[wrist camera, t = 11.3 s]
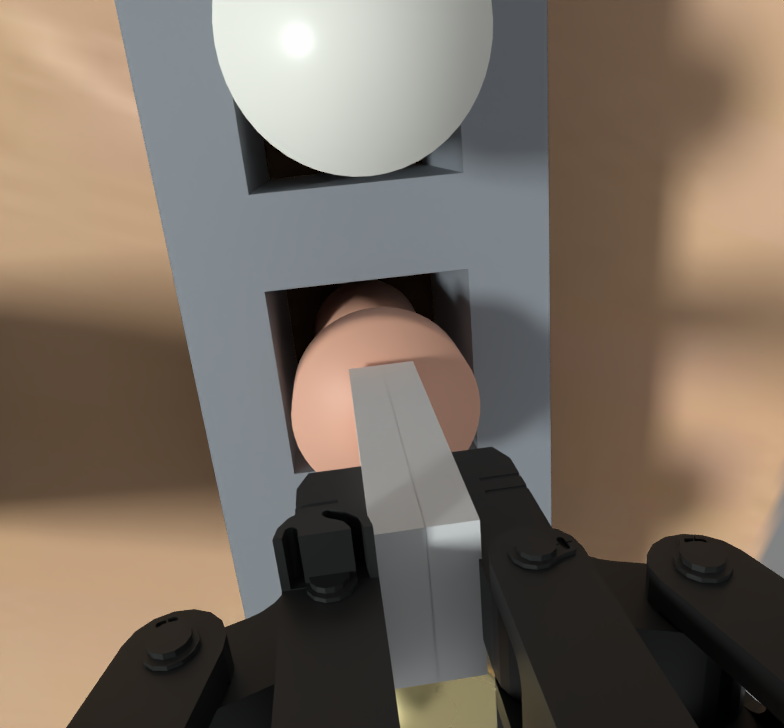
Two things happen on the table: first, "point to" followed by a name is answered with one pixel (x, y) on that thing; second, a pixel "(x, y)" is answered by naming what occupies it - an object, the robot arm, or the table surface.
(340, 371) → the pink rounded piece
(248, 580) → the block
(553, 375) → the table surface
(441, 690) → the brass plunger
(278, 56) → the white rounded piece
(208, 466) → the table surface
